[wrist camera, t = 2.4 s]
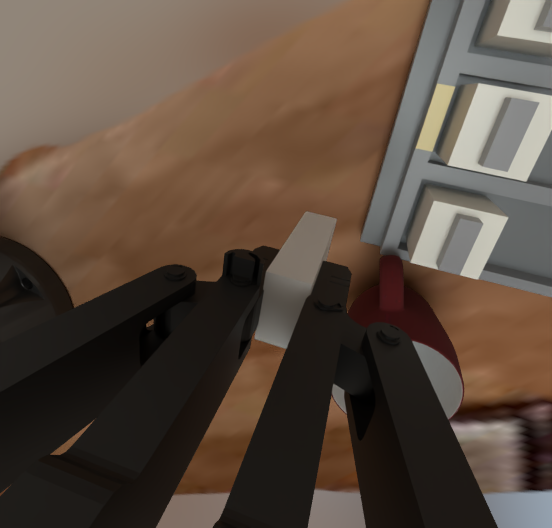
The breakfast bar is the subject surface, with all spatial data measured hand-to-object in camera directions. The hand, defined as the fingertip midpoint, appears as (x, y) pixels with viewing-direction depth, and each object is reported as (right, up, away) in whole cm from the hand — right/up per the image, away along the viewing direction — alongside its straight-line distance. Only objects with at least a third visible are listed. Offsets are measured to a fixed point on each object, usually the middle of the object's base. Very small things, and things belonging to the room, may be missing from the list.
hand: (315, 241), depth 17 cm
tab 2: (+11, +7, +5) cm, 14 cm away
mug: (+8, -3, +13) cm, 16 cm away
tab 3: (+10, +2, +8) cm, 13 cm away
